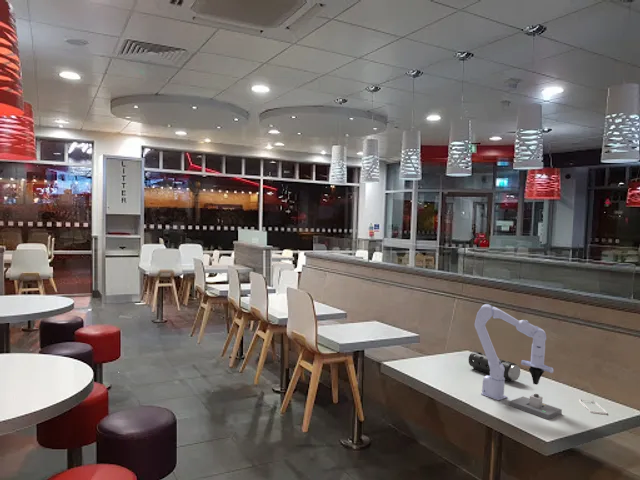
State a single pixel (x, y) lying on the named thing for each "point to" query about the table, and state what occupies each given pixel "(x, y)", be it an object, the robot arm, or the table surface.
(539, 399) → the charger plug
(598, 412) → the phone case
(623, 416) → the table surface
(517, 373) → the muzzle brake
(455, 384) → the table surface
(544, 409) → the charging plate
